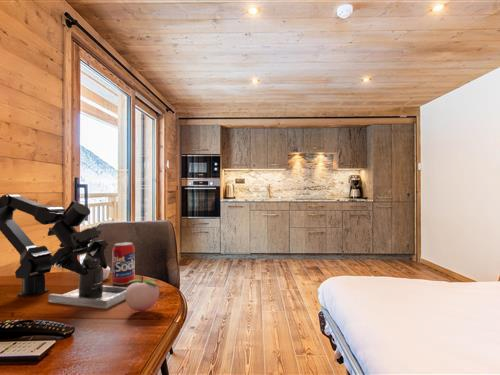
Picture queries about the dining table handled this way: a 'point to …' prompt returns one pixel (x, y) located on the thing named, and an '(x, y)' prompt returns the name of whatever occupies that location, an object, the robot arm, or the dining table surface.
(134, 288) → the decorative fruit
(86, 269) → the supplement bottle
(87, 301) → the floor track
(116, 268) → the soda can
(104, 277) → the small white vase
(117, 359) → the dining table surface
